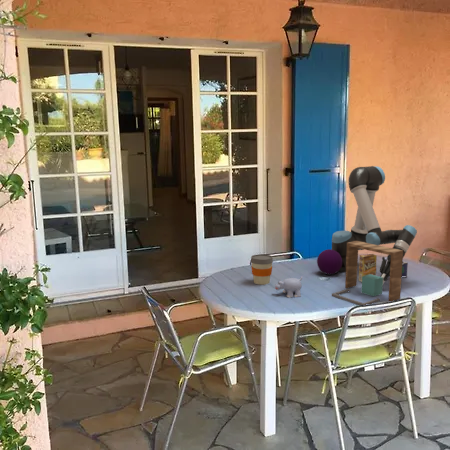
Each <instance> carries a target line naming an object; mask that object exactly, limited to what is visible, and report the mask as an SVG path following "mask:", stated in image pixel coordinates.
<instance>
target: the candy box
mask: <svg viewBox="0 0 450 450" xmlns="http://www.w3.org/2000/svg"><path fill="white" fill-rule="evenodd" d="M377 257H378V256H377V255H376V254H374V253H369V254H359V261H358V263H359V265H358V281H359V282H361V283H362V276H366V275H369V274H372V275H375V276H377V275H376V274H377Z"/></svg>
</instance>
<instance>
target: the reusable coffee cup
mask: <svg viewBox="0 0 450 450" xmlns="http://www.w3.org/2000/svg"><path fill="white" fill-rule="evenodd" d="M250 262H251V266H250V267H251V268H250V269H251V274H252V276H253V283H254V284H255V285H260V286H261V285H263V286H264V285H268V284H270V282H271V276H272V273H273V263H274V259H273V256H272V255H270V254H263V253H262V254H261V253H259V254H258V253H257V254H254V255H251V257H250Z"/></svg>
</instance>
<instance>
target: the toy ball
mask: <svg viewBox="0 0 450 450" xmlns="http://www.w3.org/2000/svg"><path fill="white" fill-rule="evenodd" d="M316 265H317V267H318V269H319V270H320V271H321V272H322V273H324V274H326V275H334V274H337V273H338V271H339V270H340V268H341V267H342V258H341V256H340V254H339V253H338V252H337V251H335V250H332V248H330V249H325V250H323V251H321V252H320V253H319V255H318V256H317V259H316Z"/></svg>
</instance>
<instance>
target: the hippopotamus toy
mask: <svg viewBox="0 0 450 450" xmlns="http://www.w3.org/2000/svg"><path fill="white" fill-rule="evenodd" d="M303 278H304V277H303V275H302V276H301V277H300V278H295V277H288V278H285V279H283V280H281V279H279V281H277V283H275V284H274V287H275V288H274V289H275V290H276V291H280V290H282V292H283V294H284V293H285V294H286V293H287V294H286V297H287V298H293V297H295V298H301V296H302V294H301V289H302V282H301V281H302V280H303ZM283 289H284V290H283Z"/></svg>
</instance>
